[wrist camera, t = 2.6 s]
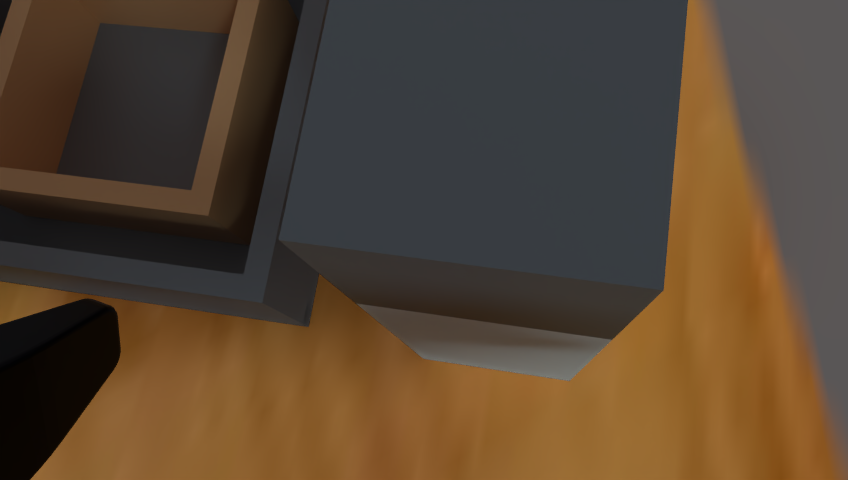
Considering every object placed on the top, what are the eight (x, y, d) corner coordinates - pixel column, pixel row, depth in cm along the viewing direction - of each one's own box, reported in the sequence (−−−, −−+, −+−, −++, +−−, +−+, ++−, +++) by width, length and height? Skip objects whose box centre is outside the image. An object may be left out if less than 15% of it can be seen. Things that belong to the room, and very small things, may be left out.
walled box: (308, 327, 21) (262, 303, 17) (-40, 275, 23) (-152, 242, 19) (376, -19, 24) (349, -107, 20) (60, -42, 25) (-22, -127, 21)
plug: (569, 380, 20) (664, 290, 7) (423, 358, 20) (278, 240, 8) (585, 238, 21) (692, -60, 8) (445, 221, 21) (347, -81, 9)
